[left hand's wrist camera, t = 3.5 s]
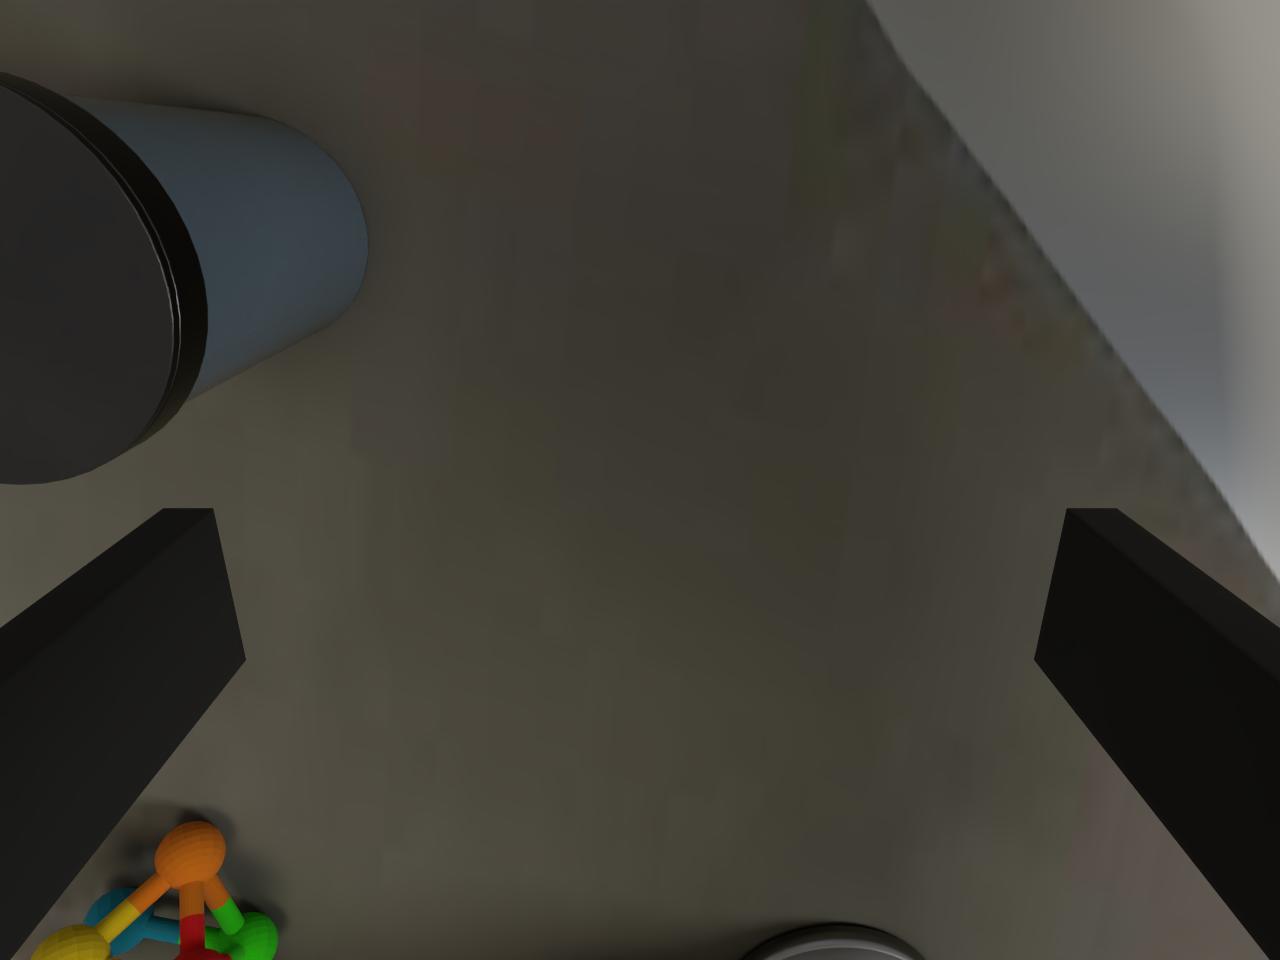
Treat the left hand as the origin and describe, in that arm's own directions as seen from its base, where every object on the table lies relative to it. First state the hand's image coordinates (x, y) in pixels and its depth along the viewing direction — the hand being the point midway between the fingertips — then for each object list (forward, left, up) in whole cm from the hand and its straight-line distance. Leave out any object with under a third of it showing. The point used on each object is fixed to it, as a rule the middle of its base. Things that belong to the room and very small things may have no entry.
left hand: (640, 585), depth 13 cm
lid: (+3, +18, -10) cm, 21 cm away
